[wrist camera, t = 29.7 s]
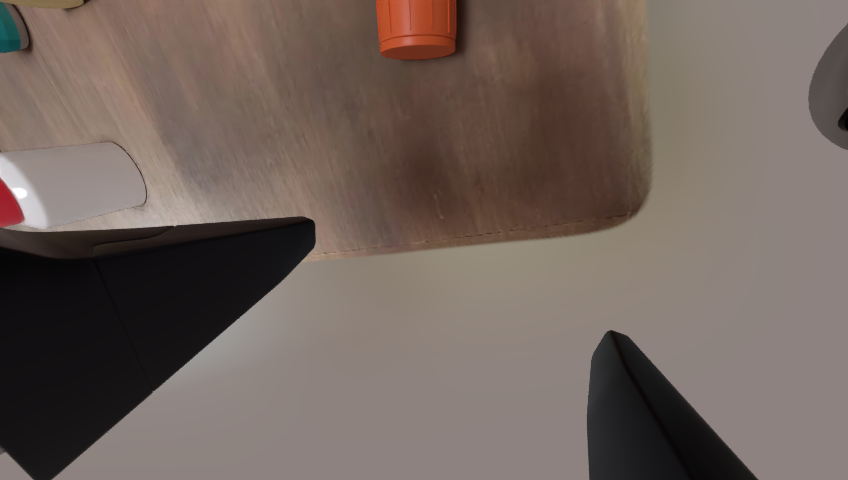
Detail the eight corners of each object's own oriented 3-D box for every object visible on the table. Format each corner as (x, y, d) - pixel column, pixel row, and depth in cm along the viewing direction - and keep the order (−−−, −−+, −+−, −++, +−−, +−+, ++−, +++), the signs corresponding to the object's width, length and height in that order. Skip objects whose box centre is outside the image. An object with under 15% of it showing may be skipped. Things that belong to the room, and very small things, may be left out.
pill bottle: (103, 178, 39) (-40, 203, 30) (99, 127, 34) (-70, 137, 25) (146, 217, 38) (14, 254, 29) (147, 171, 34) (-7, 197, 25)
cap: (437, -54, 12) (439, 41, 14) (464, -19, 16) (464, 54, 17) (357, -32, 14) (365, 51, 15) (397, -5, 17) (401, 62, 18)
